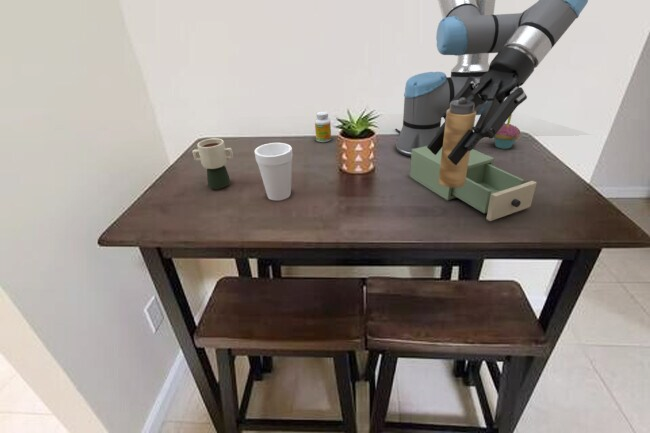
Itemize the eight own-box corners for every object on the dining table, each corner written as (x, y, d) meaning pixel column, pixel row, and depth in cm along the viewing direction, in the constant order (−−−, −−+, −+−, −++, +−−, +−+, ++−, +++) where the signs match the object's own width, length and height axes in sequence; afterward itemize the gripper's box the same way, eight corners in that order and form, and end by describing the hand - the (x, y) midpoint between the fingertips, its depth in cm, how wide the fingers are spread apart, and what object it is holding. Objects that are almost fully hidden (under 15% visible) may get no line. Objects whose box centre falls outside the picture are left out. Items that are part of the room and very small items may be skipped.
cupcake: (519, 151, 120) (528, 113, 113) (490, 150, 121) (498, 113, 115) (513, 141, 127) (521, 105, 120) (486, 140, 128) (493, 105, 122)
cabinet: (488, 187, 101) (494, 158, 96) (447, 200, 96) (451, 170, 92) (448, 166, 113) (451, 139, 109) (409, 176, 108) (411, 149, 104)
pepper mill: (433, 180, 82) (442, 96, 73) (452, 174, 84) (464, 92, 75) (450, 190, 78) (462, 102, 69) (470, 183, 80) (484, 98, 71)
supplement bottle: (316, 143, 134) (314, 115, 129) (316, 137, 139) (314, 111, 134) (331, 142, 134) (330, 115, 129) (331, 136, 139) (329, 110, 134)
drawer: (534, 209, 89) (541, 184, 85) (494, 223, 84) (499, 198, 81) (483, 182, 101) (488, 160, 98) (446, 194, 97) (449, 171, 93)
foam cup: (268, 206, 98) (261, 159, 91) (256, 192, 105) (249, 147, 98) (302, 197, 101) (297, 151, 94) (288, 183, 108) (283, 140, 101)
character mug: (240, 179, 112) (233, 136, 106) (236, 190, 106) (228, 146, 99) (204, 181, 112) (194, 139, 106) (197, 192, 106) (186, 148, 100)
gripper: (568, 79, 69) (483, 182, 72) (489, 64, 83) (422, 151, 86) (555, 51, 64) (465, 162, 67) (474, 40, 78) (403, 132, 81)
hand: (441, 155), depth 76 cm, fingers closed on pepper mill, 5 cm apart
